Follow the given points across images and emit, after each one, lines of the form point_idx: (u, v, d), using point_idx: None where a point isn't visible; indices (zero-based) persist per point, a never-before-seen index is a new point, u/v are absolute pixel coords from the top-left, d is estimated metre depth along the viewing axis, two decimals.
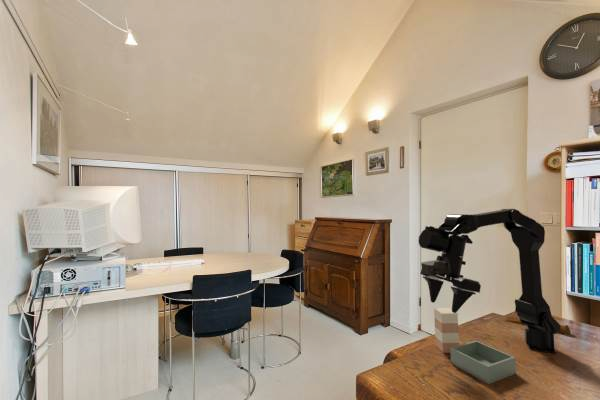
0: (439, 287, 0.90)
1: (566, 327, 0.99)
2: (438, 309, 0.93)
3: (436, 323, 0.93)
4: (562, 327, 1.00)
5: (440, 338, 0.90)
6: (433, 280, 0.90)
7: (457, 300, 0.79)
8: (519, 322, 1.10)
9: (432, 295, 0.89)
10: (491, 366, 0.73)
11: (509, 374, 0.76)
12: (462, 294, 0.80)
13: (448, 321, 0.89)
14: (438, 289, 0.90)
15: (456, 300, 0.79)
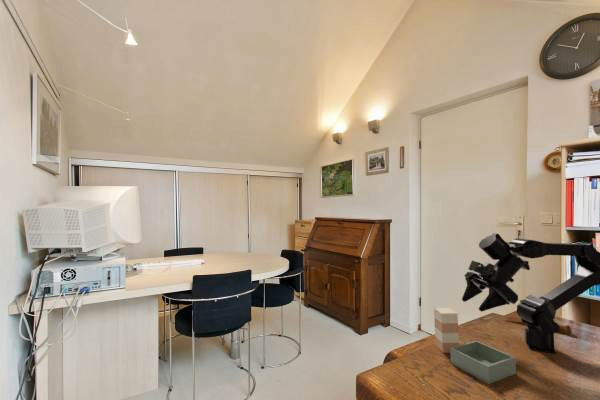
0: (476, 294, 0.96)
1: (567, 327, 0.99)
2: (438, 309, 0.93)
3: (436, 323, 0.93)
4: (563, 327, 1.00)
5: (440, 338, 0.90)
6: (473, 284, 0.97)
7: (489, 301, 0.86)
8: (520, 322, 1.09)
9: (466, 295, 0.96)
10: (491, 366, 0.73)
11: (509, 374, 0.76)
12: (496, 299, 0.86)
13: (448, 321, 0.89)
14: (474, 294, 0.96)
15: (488, 300, 0.86)
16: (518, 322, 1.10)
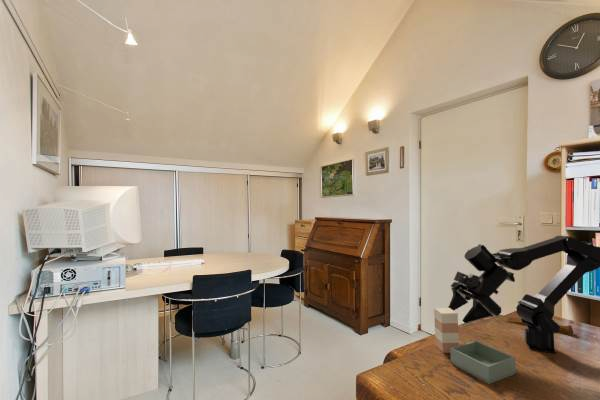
0: (461, 304, 0.96)
1: (569, 327, 0.99)
2: (438, 309, 0.93)
3: (436, 323, 0.93)
4: (565, 327, 1.00)
5: (440, 338, 0.90)
6: (459, 295, 0.97)
7: (472, 313, 0.86)
8: (521, 323, 1.09)
9: (451, 305, 0.96)
10: (491, 366, 0.73)
11: (509, 374, 0.76)
12: (480, 311, 0.86)
13: (448, 321, 0.89)
14: (459, 304, 0.96)
15: (471, 312, 0.86)
16: (519, 323, 1.09)
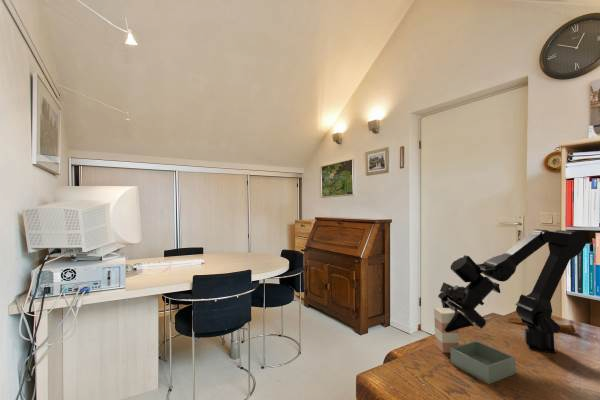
0: None
1: (572, 327, 1.00)
2: (438, 309, 0.93)
3: (436, 323, 0.93)
4: (568, 327, 1.00)
5: (440, 337, 0.90)
6: (449, 307, 0.95)
7: (454, 322, 0.88)
8: (523, 323, 1.08)
9: None
10: (491, 366, 0.73)
11: (509, 374, 0.76)
12: (461, 320, 0.88)
13: (448, 321, 0.89)
14: None
15: (453, 322, 0.88)
16: (521, 323, 1.09)
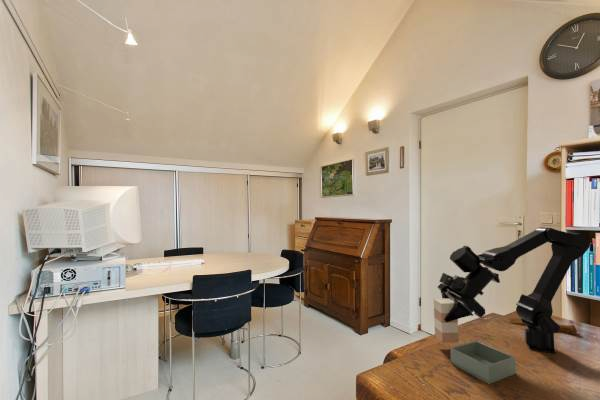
0: None
1: (573, 327, 0.99)
2: (437, 299, 0.93)
3: (435, 313, 0.93)
4: (569, 327, 1.00)
5: (440, 328, 0.90)
6: None
7: (453, 312, 0.88)
8: (525, 324, 1.08)
9: None
10: (491, 366, 0.73)
11: (509, 374, 0.76)
12: (461, 310, 0.88)
13: (447, 311, 0.89)
14: None
15: (453, 312, 0.88)
16: (523, 324, 1.08)
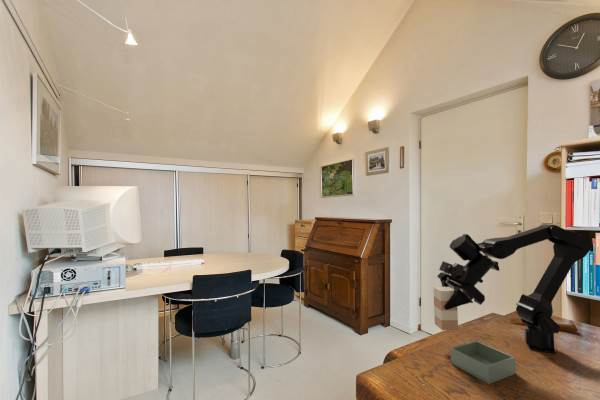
0: None
1: (574, 326, 1.00)
2: (437, 287, 0.93)
3: (435, 302, 0.93)
4: (570, 326, 1.01)
5: (439, 315, 0.90)
6: (448, 286, 0.95)
7: (453, 300, 0.88)
8: None
9: None
10: (491, 366, 0.73)
11: (509, 374, 0.76)
12: (460, 298, 0.88)
13: (447, 299, 0.89)
14: None
15: (452, 299, 0.88)
16: (524, 324, 1.08)
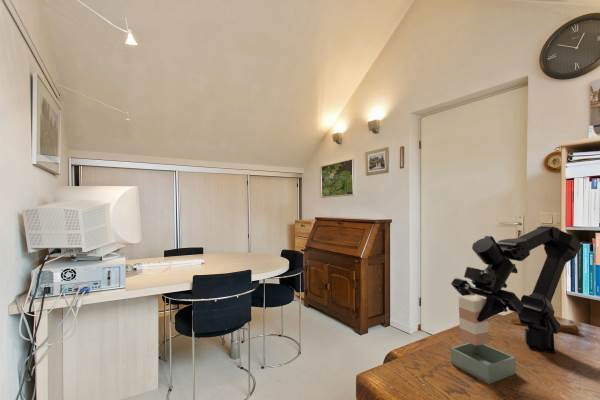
0: None
1: (576, 327, 1.00)
2: (464, 297, 0.83)
3: (462, 313, 0.82)
4: (571, 327, 1.00)
5: (471, 329, 0.80)
6: (469, 294, 0.86)
7: (487, 310, 0.79)
8: None
9: None
10: (491, 366, 0.73)
11: (509, 374, 0.76)
12: (493, 307, 0.79)
13: (479, 309, 0.80)
14: None
15: (487, 309, 0.79)
16: None
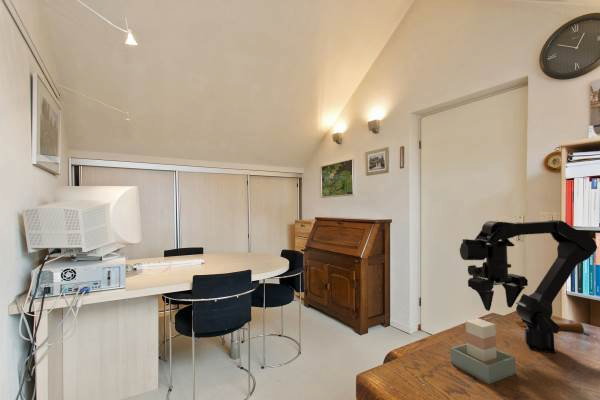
0: (515, 294, 0.92)
1: (581, 325, 1.01)
2: (472, 322, 0.81)
3: (470, 339, 0.80)
4: (577, 325, 1.01)
5: (480, 355, 0.78)
6: (507, 286, 0.95)
7: (482, 298, 0.91)
8: None
9: (507, 300, 0.94)
10: (491, 366, 0.73)
11: (509, 374, 0.76)
12: (485, 293, 0.90)
13: (488, 335, 0.78)
14: (513, 295, 0.92)
15: (481, 298, 0.92)
16: None
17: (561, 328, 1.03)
